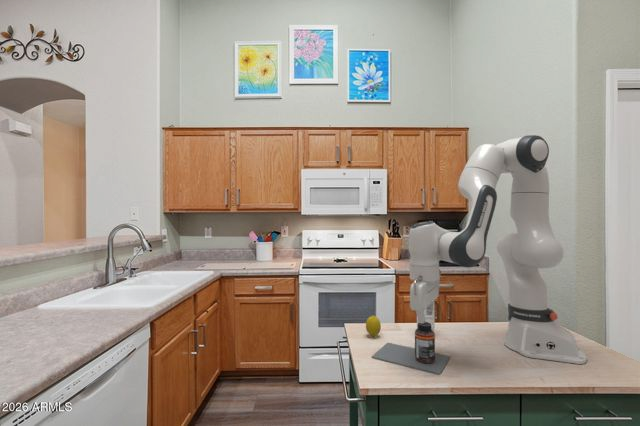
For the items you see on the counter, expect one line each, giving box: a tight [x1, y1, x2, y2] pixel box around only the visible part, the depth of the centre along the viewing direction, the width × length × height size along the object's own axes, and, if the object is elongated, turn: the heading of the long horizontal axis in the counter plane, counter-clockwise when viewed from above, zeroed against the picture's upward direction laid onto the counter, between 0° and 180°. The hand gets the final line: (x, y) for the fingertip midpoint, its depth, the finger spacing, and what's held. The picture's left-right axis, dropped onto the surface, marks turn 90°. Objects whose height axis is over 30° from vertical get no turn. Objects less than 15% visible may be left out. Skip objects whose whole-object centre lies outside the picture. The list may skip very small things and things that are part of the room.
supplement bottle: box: [414, 322, 436, 364], centre depth 100 cm, size 6×6×11 cm
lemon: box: [365, 314, 382, 338], centre depth 121 cm, size 6×6×8 cm
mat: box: [371, 342, 451, 376], centre depth 103 cm, size 21×14×1 cm, turn 57°
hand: (425, 318), depth 100 cm, fingers open, 8 cm apart
